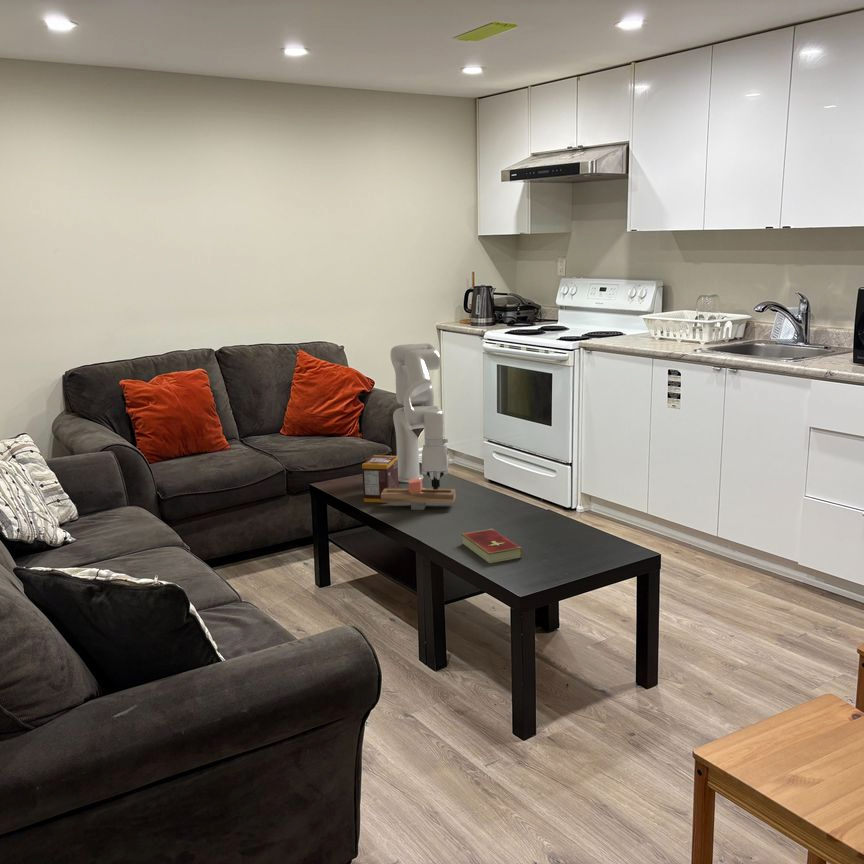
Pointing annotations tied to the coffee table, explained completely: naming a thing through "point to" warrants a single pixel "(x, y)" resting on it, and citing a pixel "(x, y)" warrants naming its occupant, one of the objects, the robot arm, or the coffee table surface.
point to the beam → (418, 496)
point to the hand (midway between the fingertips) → (435, 488)
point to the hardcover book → (491, 545)
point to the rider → (415, 485)
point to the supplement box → (379, 476)
